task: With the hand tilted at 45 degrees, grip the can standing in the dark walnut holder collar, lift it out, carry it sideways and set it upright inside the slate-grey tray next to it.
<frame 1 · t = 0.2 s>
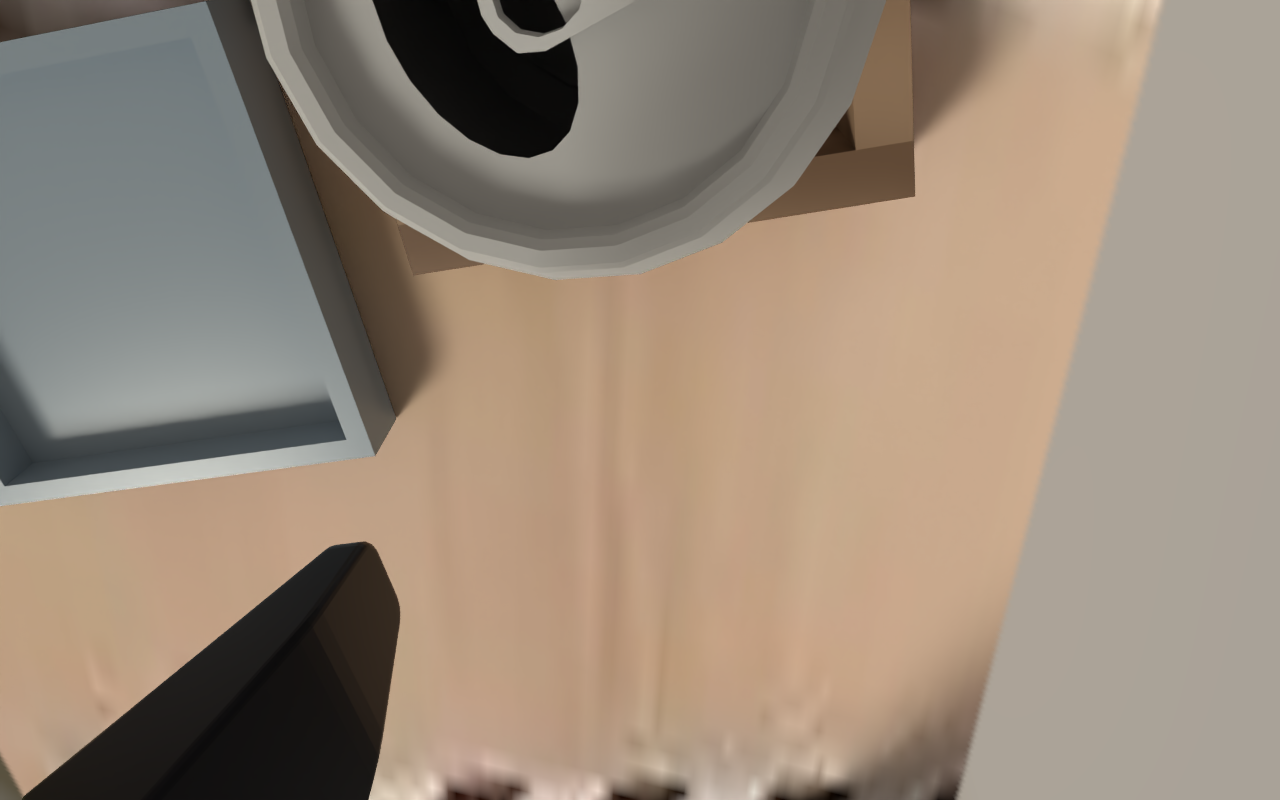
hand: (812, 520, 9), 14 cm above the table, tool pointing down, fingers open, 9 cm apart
tray: (130, 264, 23), on the table
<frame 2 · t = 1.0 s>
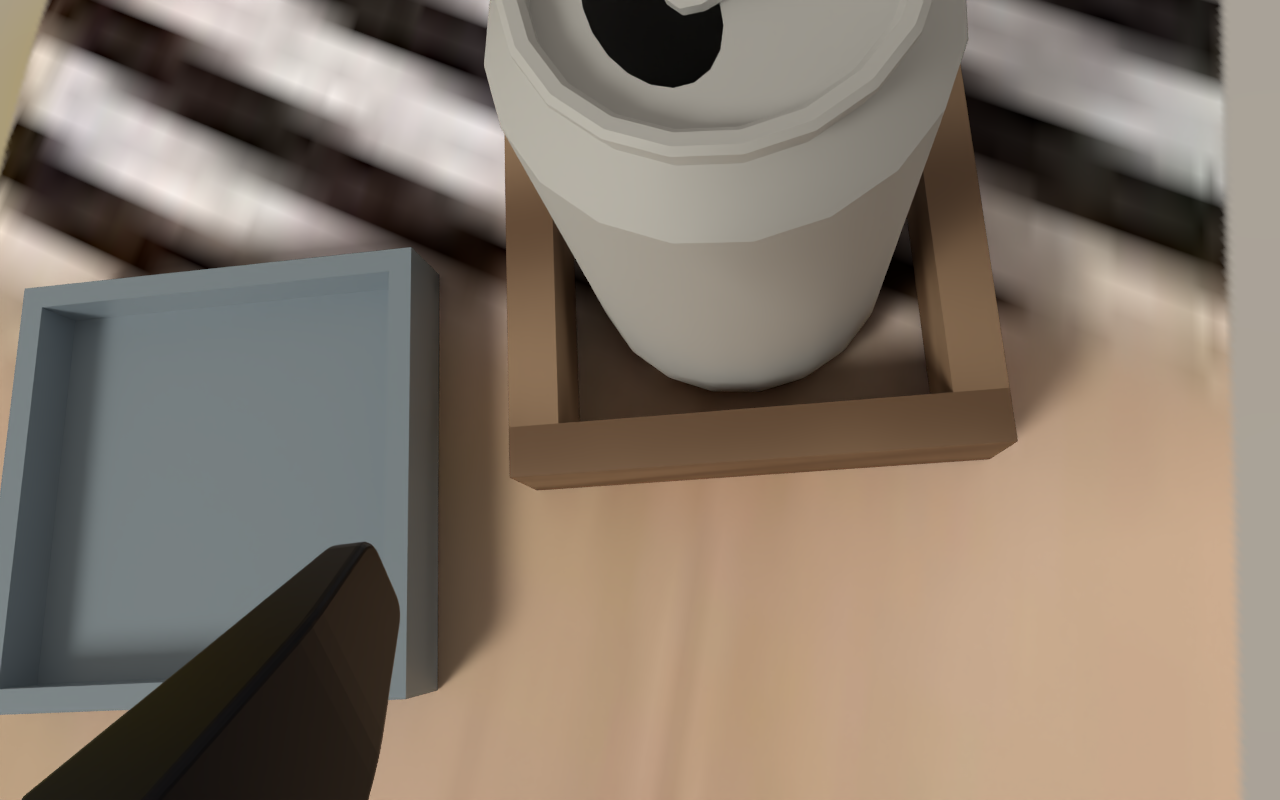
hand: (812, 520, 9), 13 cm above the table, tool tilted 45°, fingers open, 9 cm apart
can: (739, 268, 24), resting in holder collar
tray: (243, 485, 24), on the table
holder collar: (738, 264, 23), on the table
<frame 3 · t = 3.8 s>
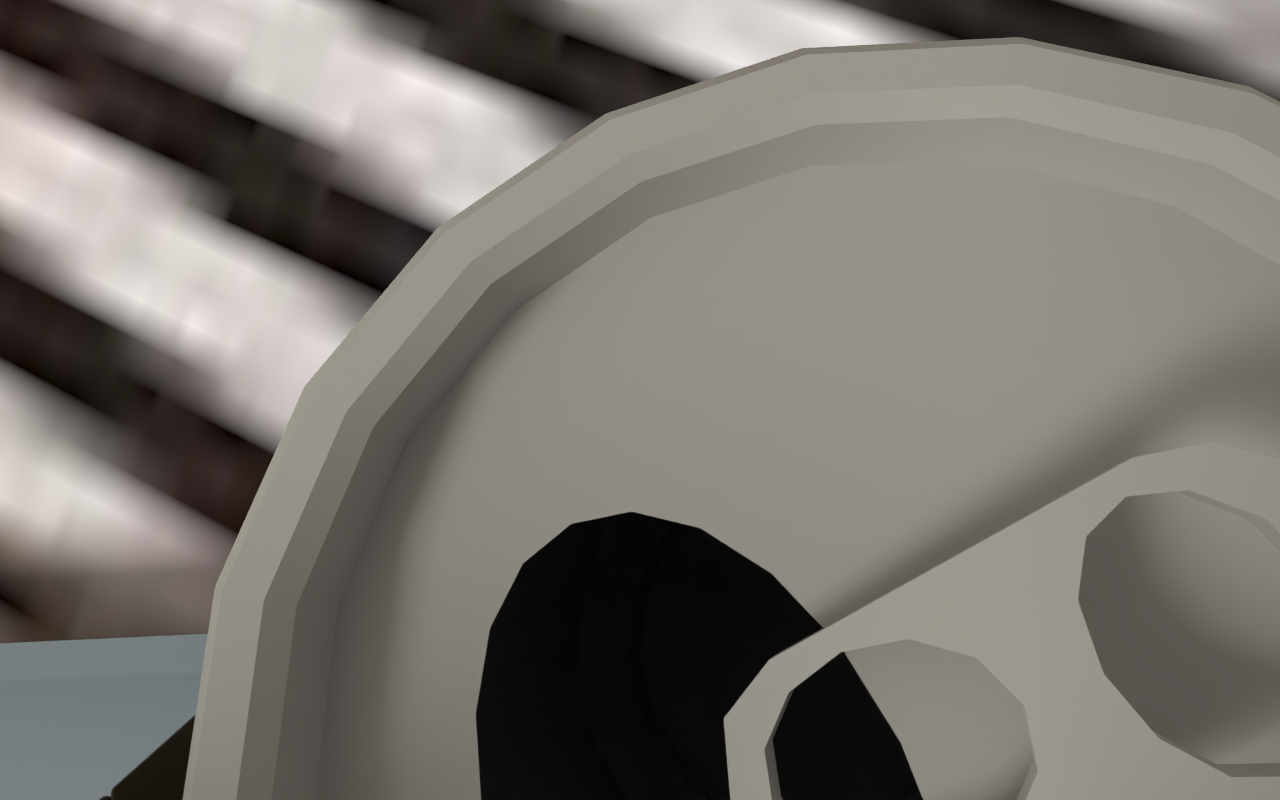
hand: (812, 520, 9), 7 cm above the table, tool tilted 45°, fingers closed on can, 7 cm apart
can: (806, 642, 15), resting in holder collar, touching gripper
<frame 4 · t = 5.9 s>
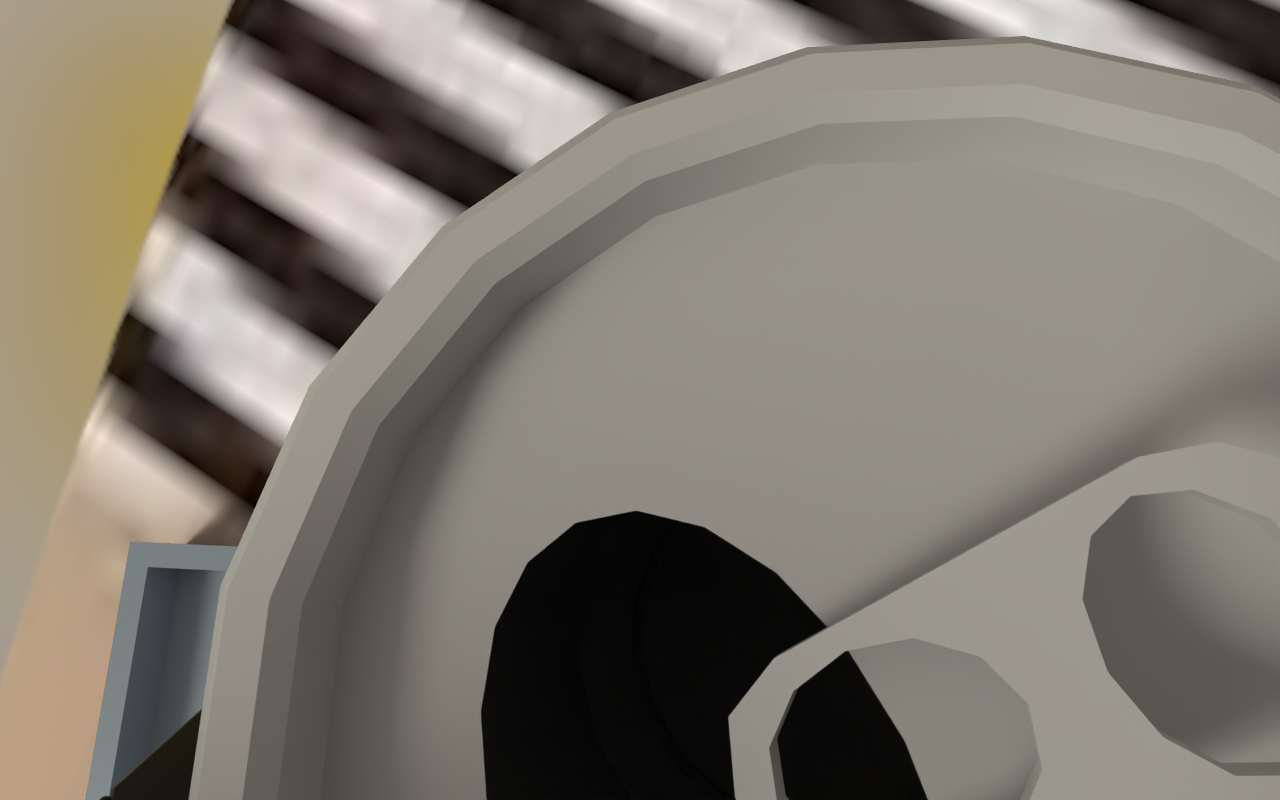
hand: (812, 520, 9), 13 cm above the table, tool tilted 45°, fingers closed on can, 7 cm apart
can: (807, 639, 15), point 6 cm above the table, touching gripper
tray: (349, 782, 22), on the table
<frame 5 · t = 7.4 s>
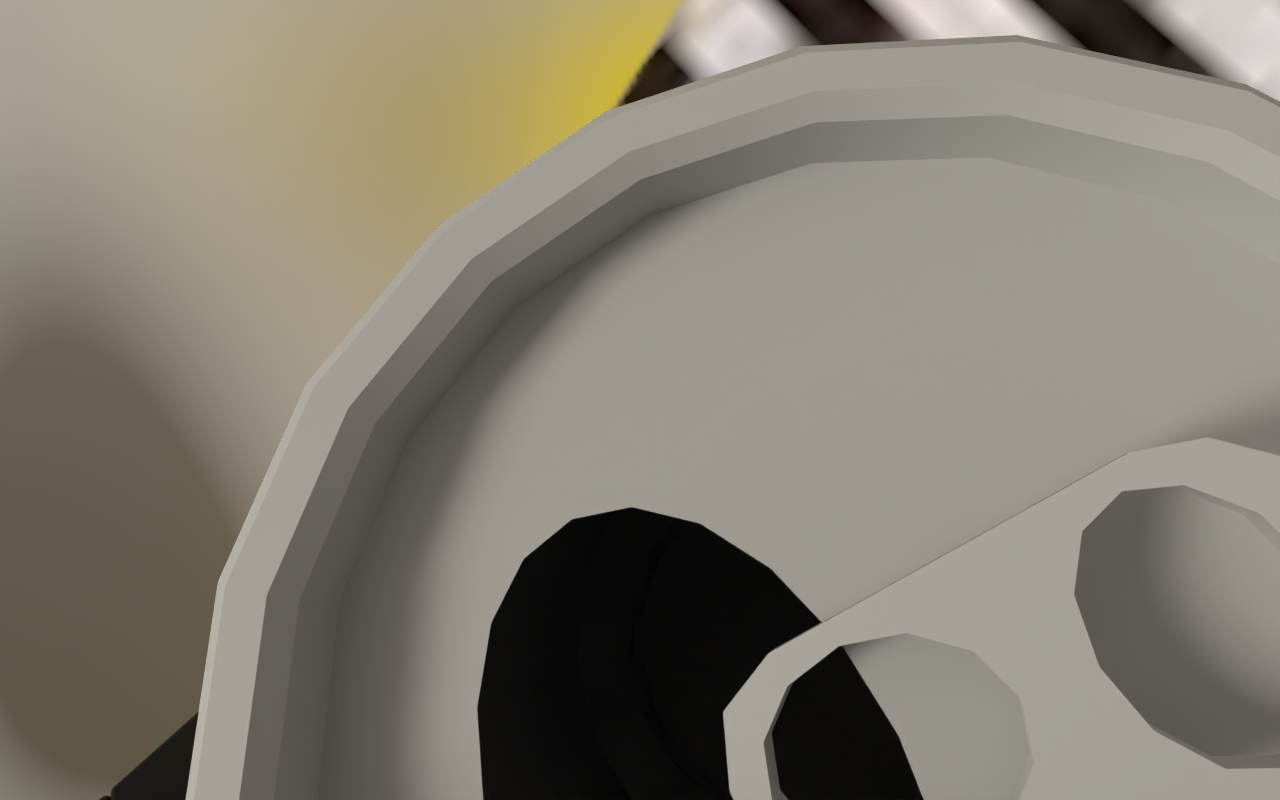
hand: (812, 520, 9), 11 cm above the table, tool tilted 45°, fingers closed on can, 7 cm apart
can: (805, 638, 15), point 5 cm above the table, touching gripper
when the fingers open (9 cm above the table, at t = 8.5 s): can drops 1 cm, resting on tray.
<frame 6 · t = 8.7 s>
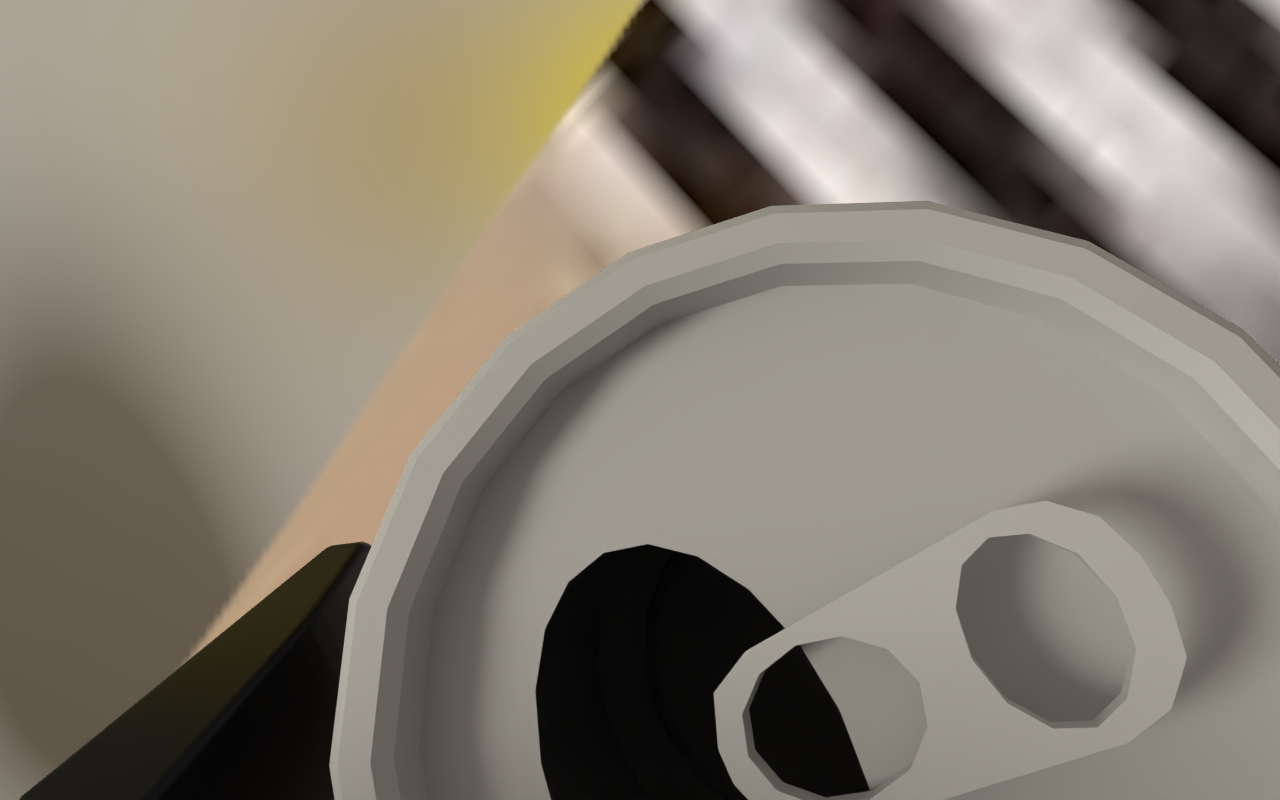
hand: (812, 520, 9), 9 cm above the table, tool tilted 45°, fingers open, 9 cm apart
can: (804, 648, 16), point 1 cm above the table, touching tray
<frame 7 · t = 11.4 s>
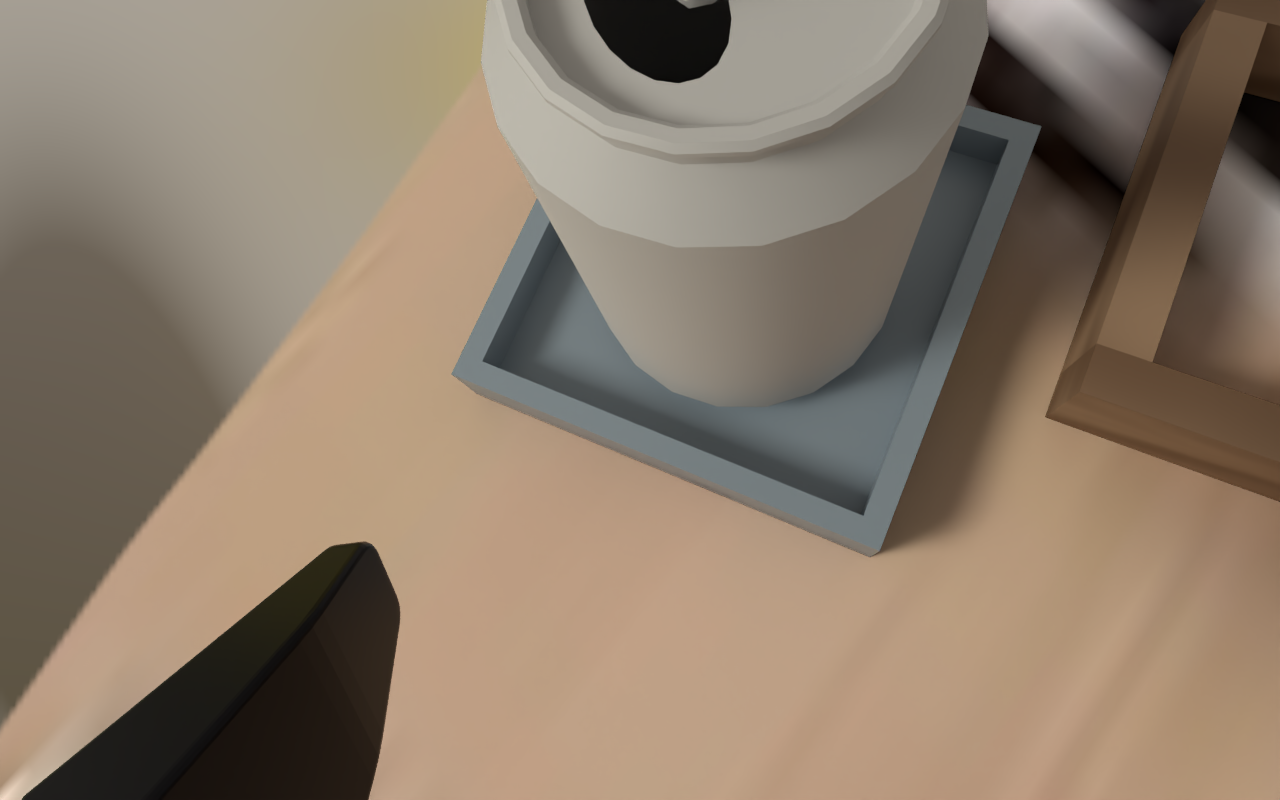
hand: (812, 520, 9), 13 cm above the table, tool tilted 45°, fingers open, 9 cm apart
can: (745, 280, 23), point 1 cm above the table, touching tray
tray: (744, 282, 24), on the table
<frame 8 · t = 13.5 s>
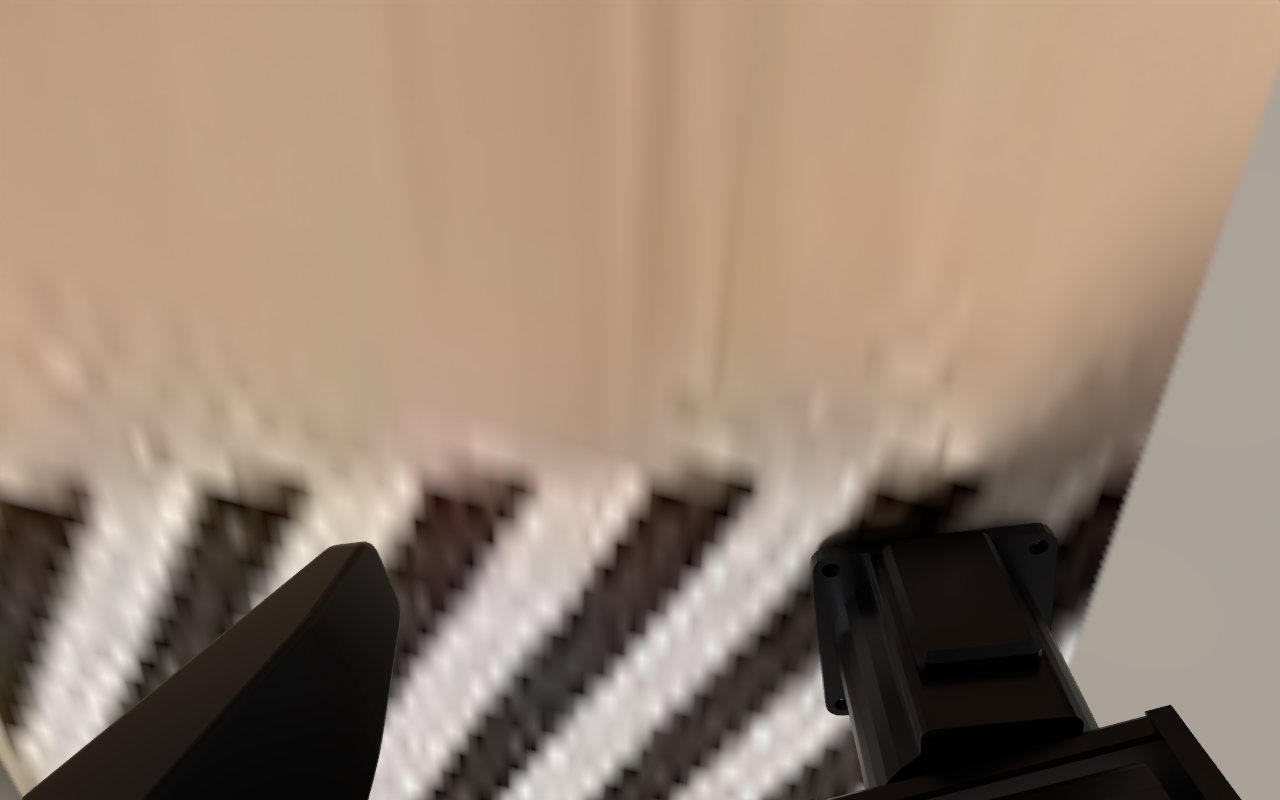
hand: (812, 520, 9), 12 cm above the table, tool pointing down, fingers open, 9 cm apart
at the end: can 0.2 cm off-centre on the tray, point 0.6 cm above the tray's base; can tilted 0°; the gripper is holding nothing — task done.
